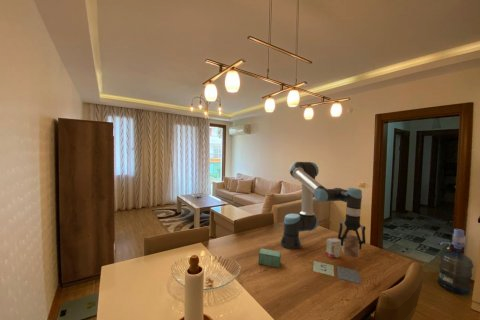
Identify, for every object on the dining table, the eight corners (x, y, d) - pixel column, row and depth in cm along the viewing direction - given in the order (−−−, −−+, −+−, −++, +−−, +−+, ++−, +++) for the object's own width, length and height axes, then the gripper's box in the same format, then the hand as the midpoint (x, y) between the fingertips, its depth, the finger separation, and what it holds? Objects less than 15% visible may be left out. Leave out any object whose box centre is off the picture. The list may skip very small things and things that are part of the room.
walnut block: (344, 255, 124) (345, 238, 124) (343, 250, 130) (344, 234, 130) (357, 257, 121) (359, 240, 121) (356, 252, 128) (357, 236, 127)
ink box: (330, 258, 146) (331, 241, 145) (325, 255, 150) (326, 238, 150) (340, 257, 148) (341, 240, 148) (335, 253, 153) (336, 237, 152)
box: (279, 268, 131) (280, 256, 131) (258, 264, 134) (258, 252, 134) (280, 262, 138) (281, 251, 138) (260, 258, 141) (260, 247, 141)
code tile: (312, 271, 129) (312, 270, 129) (313, 261, 141) (313, 260, 141) (334, 276, 125) (334, 276, 125) (333, 265, 137) (333, 265, 137)
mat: (338, 278, 123) (338, 278, 123) (336, 266, 136) (336, 266, 136) (361, 284, 118) (361, 283, 118) (358, 271, 131) (358, 271, 131)
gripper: (334, 213, 125) (332, 251, 126) (374, 219, 118) (370, 259, 119) (334, 210, 132) (331, 246, 133) (371, 215, 125) (368, 253, 126)
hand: (350, 252), depth 126 cm, fingers closed on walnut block, 7 cm apart
